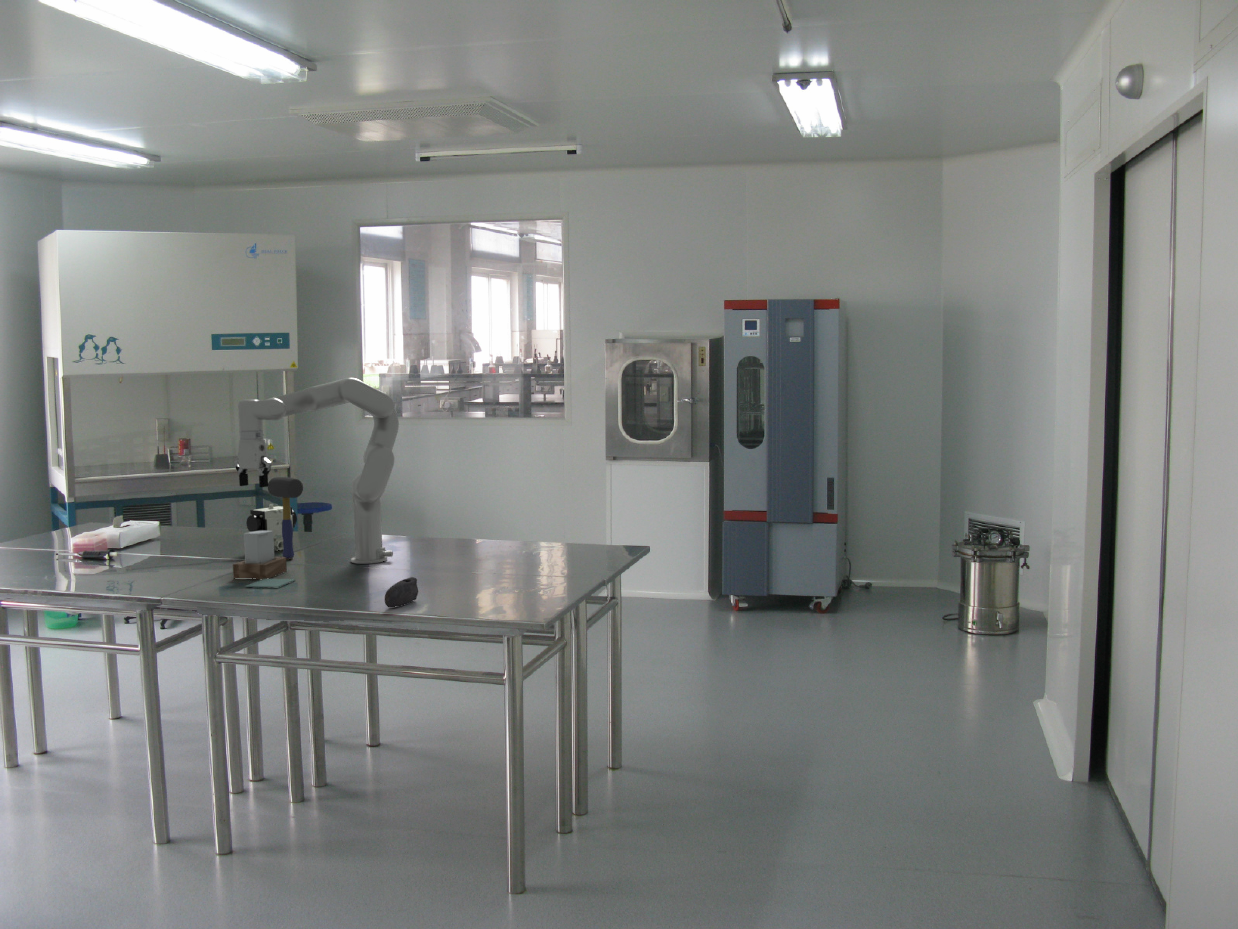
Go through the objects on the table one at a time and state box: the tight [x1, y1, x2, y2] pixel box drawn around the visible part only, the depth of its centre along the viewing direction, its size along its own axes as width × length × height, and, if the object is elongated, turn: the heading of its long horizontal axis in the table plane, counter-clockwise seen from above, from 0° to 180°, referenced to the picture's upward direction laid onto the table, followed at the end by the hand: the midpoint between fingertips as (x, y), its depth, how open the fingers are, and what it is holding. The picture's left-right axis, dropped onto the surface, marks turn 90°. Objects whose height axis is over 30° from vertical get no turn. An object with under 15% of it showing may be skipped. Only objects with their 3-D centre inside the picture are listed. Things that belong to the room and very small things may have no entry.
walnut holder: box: [232, 556, 288, 579], centre depth 331 cm, size 12×14×5 cm
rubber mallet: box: [267, 476, 304, 561], centre depth 358 cm, size 12×8×30 cm, turn 55°
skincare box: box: [243, 531, 275, 564], centre depth 331 cm, size 8×6×15 cm
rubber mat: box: [245, 578, 296, 588], centre depth 317 cm, size 11×11×1 cm
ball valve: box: [246, 503, 298, 552], centre depth 378 cm, size 18×8×18 cm, turn 147°
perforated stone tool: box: [384, 576, 419, 608], centre depth 285 cm, size 15×5×7 cm, turn 157°
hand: (253, 486), depth 337 cm, fingers open, 9 cm apart
